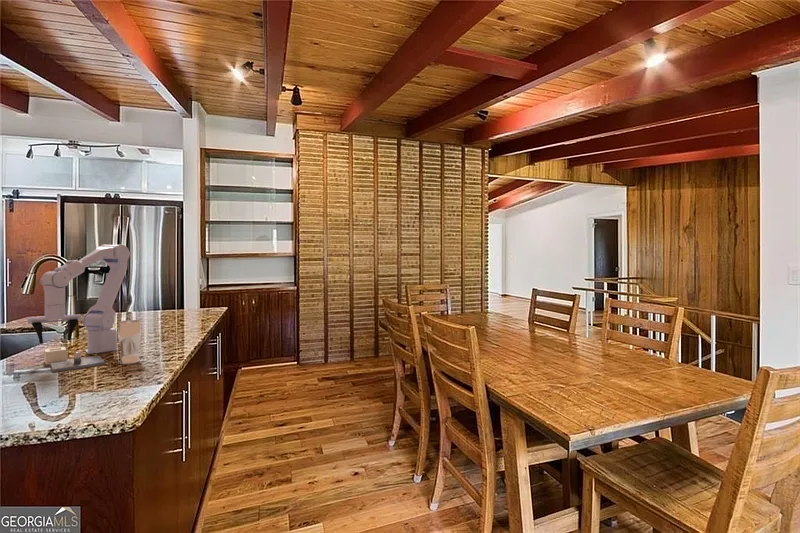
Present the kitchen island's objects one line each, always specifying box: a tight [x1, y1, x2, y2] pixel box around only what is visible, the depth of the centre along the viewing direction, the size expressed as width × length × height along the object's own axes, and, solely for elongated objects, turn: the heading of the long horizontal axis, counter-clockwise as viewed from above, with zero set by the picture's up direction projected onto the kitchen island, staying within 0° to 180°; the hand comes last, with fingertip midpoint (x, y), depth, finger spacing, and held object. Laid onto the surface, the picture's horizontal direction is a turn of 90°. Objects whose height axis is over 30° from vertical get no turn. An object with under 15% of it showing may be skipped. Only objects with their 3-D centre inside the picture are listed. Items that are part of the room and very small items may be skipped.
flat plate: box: [49, 351, 106, 373], centre depth 141 cm, size 14×12×4 cm
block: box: [44, 346, 68, 366], centre depth 145 cm, size 6×6×4 cm
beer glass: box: [117, 319, 142, 365], centre depth 145 cm, size 7×7×15 cm
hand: (55, 341), depth 145 cm, fingers open, 7 cm apart
